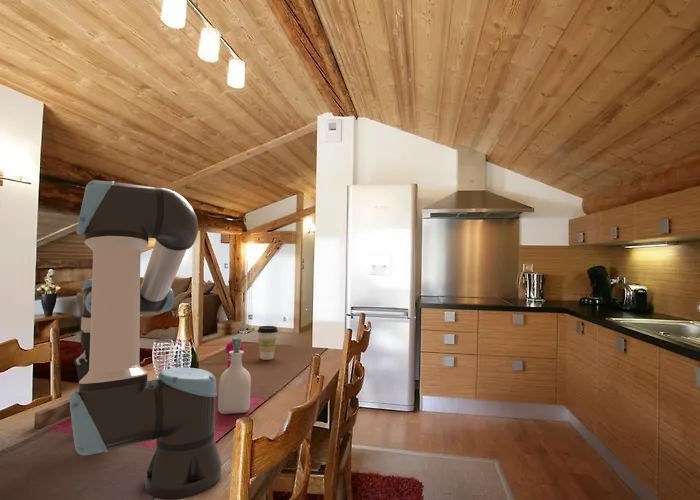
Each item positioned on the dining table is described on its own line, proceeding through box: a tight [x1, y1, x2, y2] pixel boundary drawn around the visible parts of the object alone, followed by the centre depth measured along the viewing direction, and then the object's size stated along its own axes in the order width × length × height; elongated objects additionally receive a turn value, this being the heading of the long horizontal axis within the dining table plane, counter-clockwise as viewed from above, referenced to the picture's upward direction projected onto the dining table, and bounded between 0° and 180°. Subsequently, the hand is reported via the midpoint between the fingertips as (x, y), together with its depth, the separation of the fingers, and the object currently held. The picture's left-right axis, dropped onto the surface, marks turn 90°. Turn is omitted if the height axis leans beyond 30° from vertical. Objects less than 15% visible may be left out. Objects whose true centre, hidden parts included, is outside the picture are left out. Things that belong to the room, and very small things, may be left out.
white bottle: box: [217, 337, 252, 415], centre depth 121 cm, size 10×10×23 cm
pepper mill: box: [225, 336, 244, 369], centre depth 135 cm, size 7×7×20 cm
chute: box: [33, 398, 71, 429], centre depth 111 cm, size 18×17×5 cm
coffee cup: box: [257, 325, 279, 361], centre depth 184 cm, size 10×10×15 cm
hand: (91, 409), depth 113 cm, fingers closed
